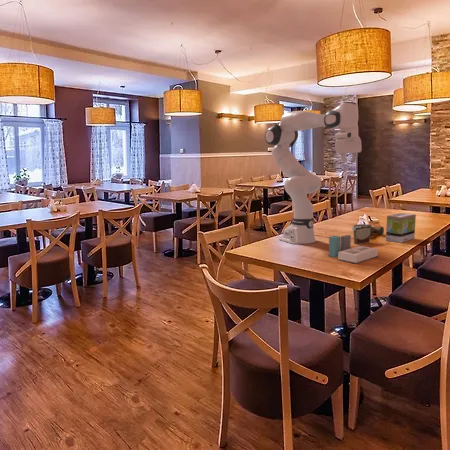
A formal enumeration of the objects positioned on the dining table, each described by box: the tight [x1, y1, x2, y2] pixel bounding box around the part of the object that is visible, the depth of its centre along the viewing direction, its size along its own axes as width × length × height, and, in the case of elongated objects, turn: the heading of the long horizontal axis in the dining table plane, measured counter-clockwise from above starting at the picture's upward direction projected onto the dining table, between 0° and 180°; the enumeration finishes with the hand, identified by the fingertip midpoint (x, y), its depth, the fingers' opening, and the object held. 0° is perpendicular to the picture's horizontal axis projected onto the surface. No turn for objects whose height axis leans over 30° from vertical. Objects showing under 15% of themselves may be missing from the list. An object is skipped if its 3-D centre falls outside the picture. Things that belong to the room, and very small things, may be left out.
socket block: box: [337, 245, 379, 265], centre depth 204 cm, size 10×18×4 cm, turn 128°
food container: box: [351, 223, 372, 245], centre depth 237 cm, size 12×6×10 cm, turn 116°
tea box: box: [385, 212, 417, 244], centre depth 239 cm, size 15×10×15 cm, turn 129°
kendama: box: [370, 225, 385, 238], centre depth 254 cm, size 6×10×20 cm
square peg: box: [328, 235, 341, 258], centre depth 209 cm, size 4×4×10 cm
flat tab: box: [340, 234, 352, 251], centre depth 215 cm, size 2×6×9 cm, turn 128°
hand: (349, 162), depth 212 cm, fingers open, 8 cm apart
